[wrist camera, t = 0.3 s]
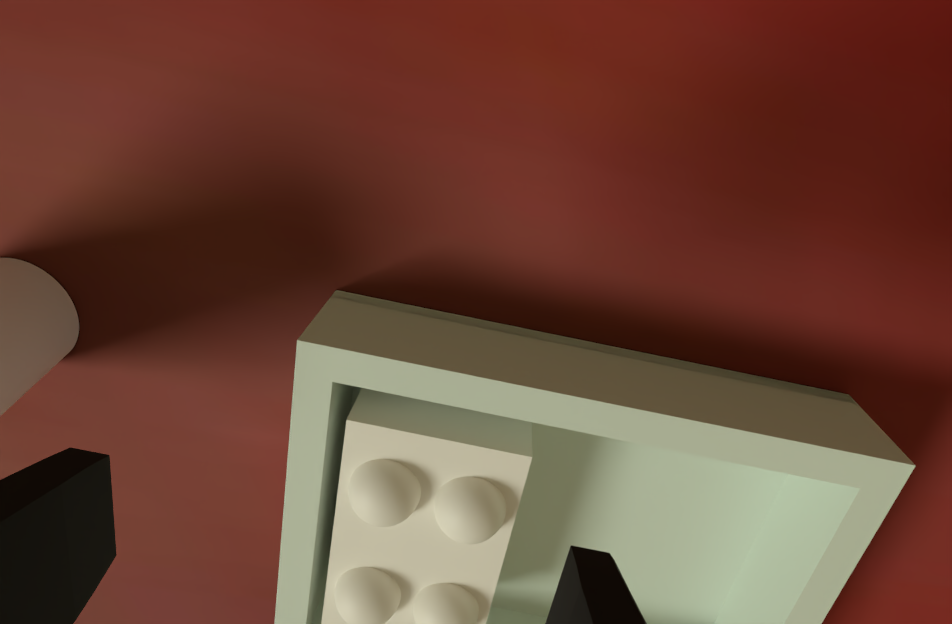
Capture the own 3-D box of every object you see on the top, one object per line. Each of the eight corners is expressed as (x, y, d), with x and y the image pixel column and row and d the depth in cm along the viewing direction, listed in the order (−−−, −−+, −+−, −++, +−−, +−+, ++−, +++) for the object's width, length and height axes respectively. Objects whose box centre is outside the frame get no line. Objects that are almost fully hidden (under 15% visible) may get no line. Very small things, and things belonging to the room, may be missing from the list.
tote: (713, 657, 24) (744, 752, 20) (306, 575, 23) (271, 659, 20) (848, 394, 19) (916, 465, 16) (336, 289, 19) (297, 339, 15)
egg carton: (481, 584, 22) (473, 690, 18) (345, 556, 22) (310, 658, 18) (530, 398, 19) (532, 481, 15) (372, 365, 19) (335, 442, 15)
